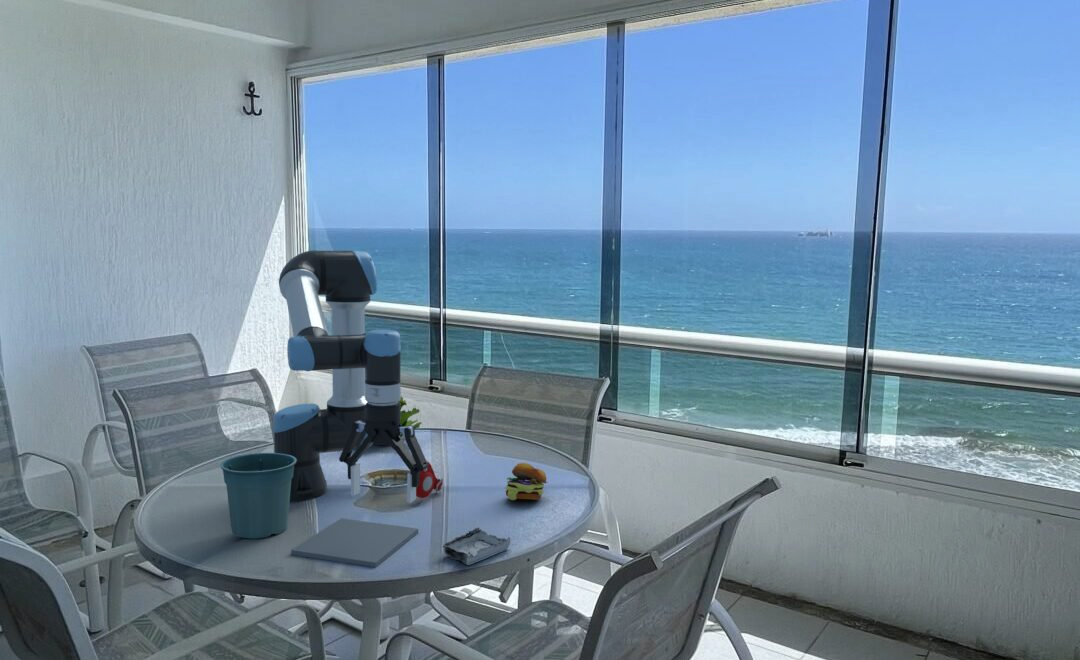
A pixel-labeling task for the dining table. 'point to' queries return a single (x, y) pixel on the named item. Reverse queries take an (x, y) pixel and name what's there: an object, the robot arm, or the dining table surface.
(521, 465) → the cheeseburger
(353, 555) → the mat
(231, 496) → the flower pot
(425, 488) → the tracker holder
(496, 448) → the dining table surface
